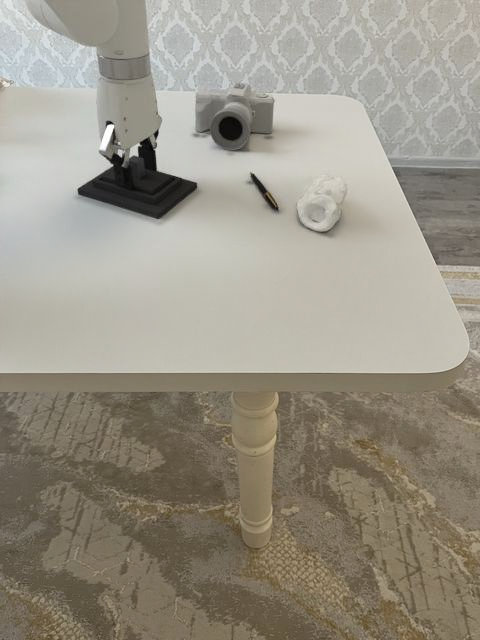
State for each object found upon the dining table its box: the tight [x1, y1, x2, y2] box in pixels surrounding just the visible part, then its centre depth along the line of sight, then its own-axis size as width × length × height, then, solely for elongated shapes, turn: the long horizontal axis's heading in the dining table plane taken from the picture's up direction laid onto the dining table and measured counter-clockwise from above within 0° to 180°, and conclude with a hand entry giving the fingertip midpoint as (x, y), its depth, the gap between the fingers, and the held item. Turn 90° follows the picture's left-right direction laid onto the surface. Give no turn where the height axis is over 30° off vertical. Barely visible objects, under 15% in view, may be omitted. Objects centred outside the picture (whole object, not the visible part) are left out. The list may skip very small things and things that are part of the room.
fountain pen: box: [249, 171, 279, 211], centre depth 101 cm, size 14×1×2 cm, turn 20°
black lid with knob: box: [102, 155, 172, 196], centre depth 98 cm, size 10×6×4 cm, turn 64°
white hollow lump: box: [295, 173, 348, 232], centre depth 95 cm, size 9×12×8 cm
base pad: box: [77, 165, 198, 220], centre depth 100 cm, size 16×12×2 cm
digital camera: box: [194, 82, 276, 152], centre depth 116 cm, size 17×14×10 cm
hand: (136, 178), depth 99 cm, fingers closed on black lid with knob, 6 cm apart
